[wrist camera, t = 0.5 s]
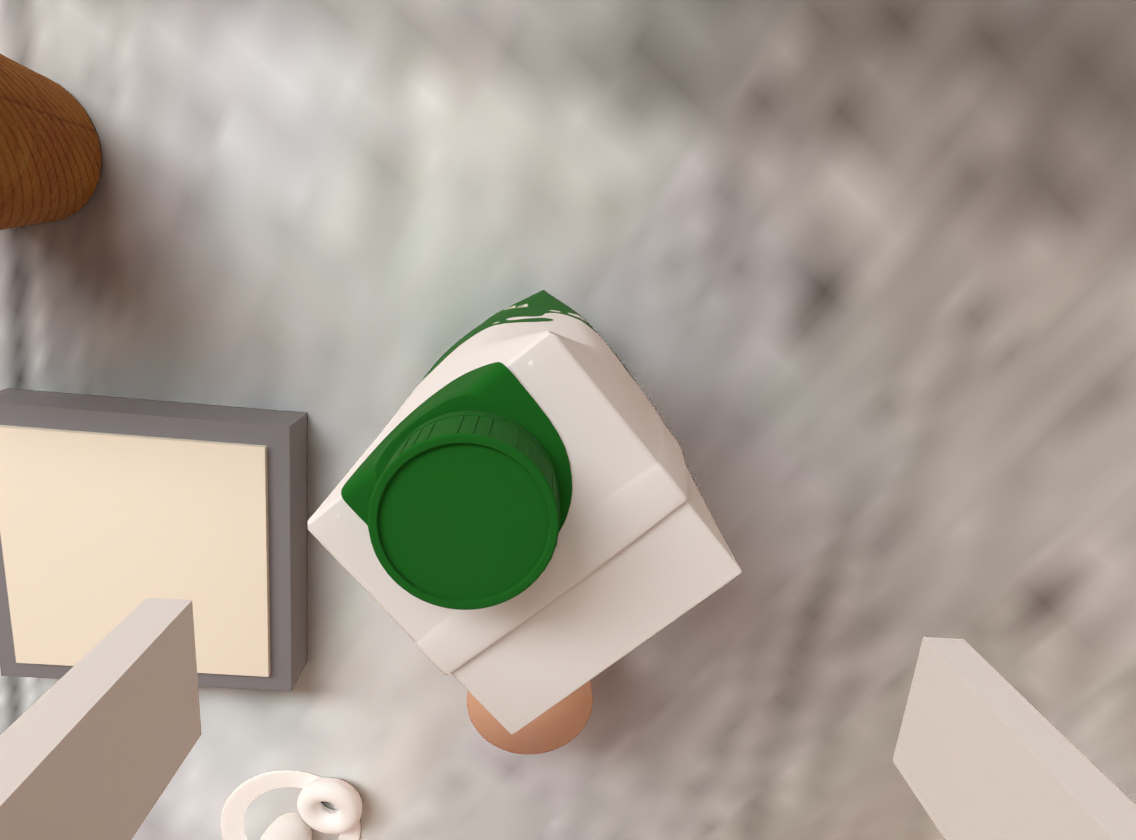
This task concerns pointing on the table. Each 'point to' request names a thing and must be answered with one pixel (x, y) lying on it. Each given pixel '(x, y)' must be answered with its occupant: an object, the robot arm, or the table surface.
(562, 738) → the peach capsule
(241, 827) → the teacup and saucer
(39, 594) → the grey framed square panel
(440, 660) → the soya milk
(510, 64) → the table surface
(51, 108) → the disposable coffee cup
